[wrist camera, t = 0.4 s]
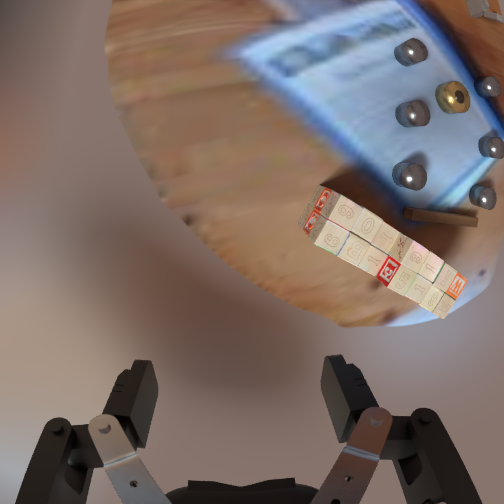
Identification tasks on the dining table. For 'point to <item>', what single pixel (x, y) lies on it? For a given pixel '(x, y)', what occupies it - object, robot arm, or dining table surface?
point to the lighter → (482, 10)
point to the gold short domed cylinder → (453, 97)
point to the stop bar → (439, 217)
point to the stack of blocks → (381, 251)
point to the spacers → (420, 116)
